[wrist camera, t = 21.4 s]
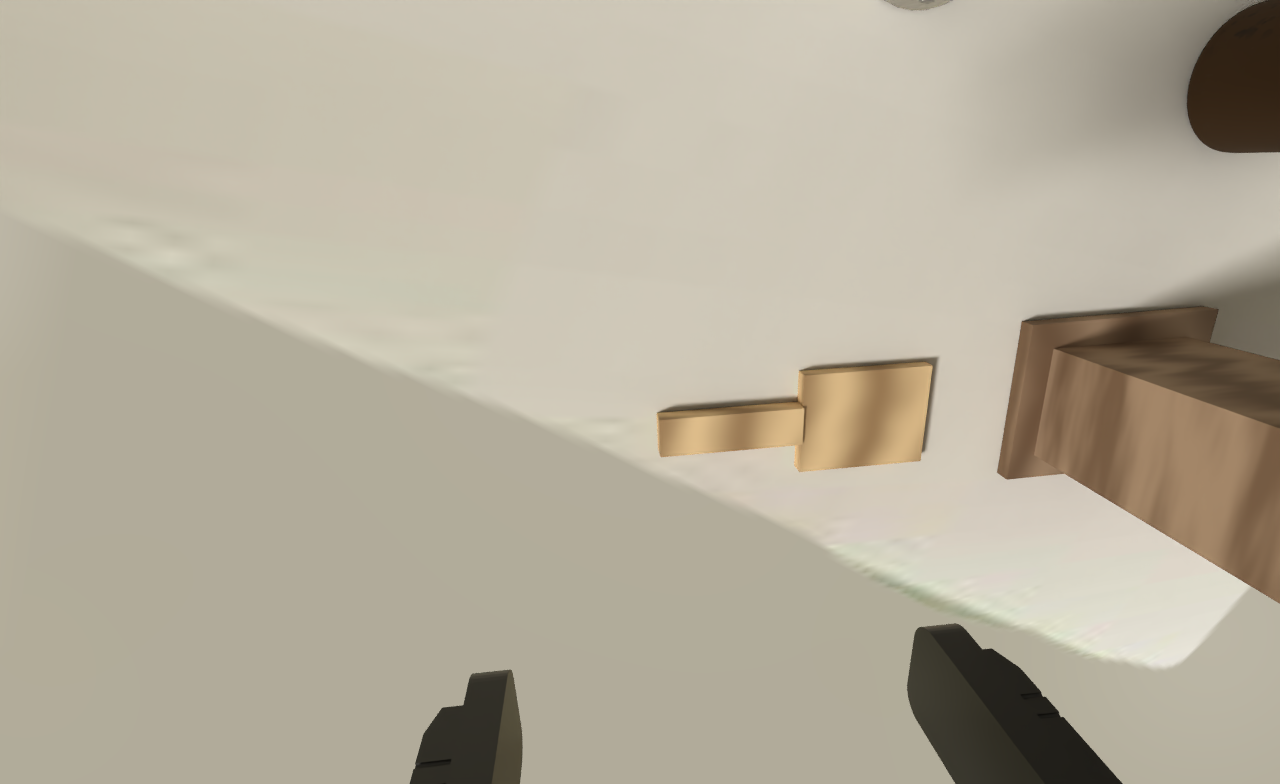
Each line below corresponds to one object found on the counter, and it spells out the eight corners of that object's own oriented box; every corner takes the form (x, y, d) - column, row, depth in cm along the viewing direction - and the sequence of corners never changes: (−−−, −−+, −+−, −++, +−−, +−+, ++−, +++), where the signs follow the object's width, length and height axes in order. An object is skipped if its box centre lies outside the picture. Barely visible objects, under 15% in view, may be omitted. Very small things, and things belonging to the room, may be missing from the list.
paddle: (659, 477, 47) (661, 486, 46) (655, 381, 44) (658, 388, 43) (912, 454, 49) (922, 462, 47) (923, 361, 46) (935, 366, 45)
